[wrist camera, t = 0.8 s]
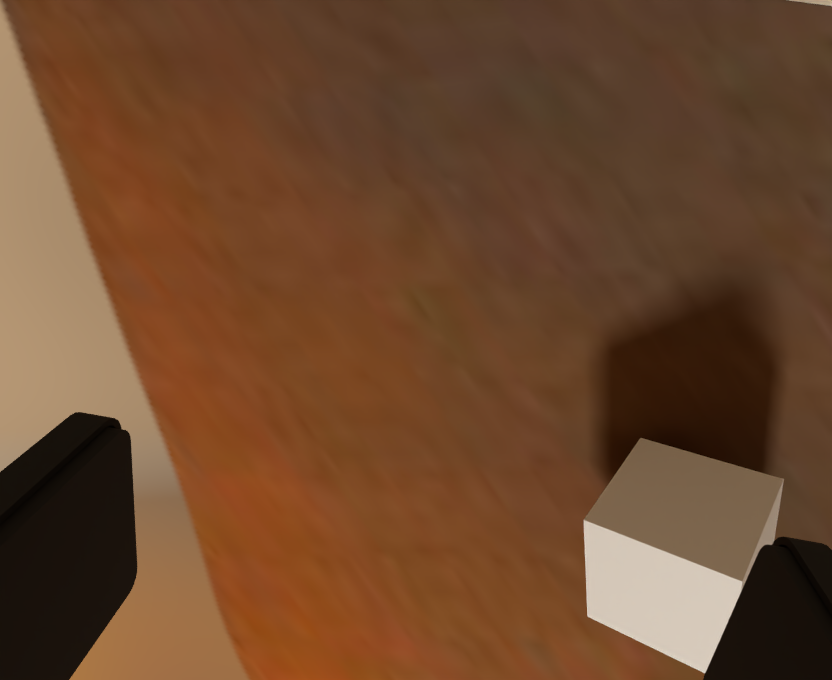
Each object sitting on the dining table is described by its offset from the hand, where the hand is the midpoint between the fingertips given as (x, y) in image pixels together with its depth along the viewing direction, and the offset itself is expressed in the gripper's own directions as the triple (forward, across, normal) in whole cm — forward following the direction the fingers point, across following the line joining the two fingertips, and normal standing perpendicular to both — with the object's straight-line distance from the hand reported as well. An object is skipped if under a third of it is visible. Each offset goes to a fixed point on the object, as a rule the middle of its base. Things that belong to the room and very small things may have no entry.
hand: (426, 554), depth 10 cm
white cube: (+20, -11, +11) cm, 26 cm away
